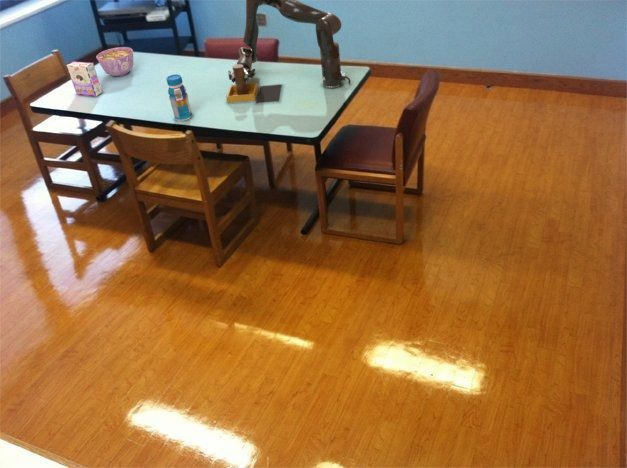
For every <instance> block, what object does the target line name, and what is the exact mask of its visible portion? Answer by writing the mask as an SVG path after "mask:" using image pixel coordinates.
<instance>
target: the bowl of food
mask: <svg viewBox="0 0 627 468" xmlns="http://www.w3.org/2000/svg"><path fill="white" fill-rule="evenodd" d="M95 56H96V60H97V61H98V63H99V65H100V67H101V69H102V70H103V71H104V73H106V74H107V75H109V76H114V77H122V76H125V75H127V74H128V73H129V72H130V71H131V70H132V69H133V67H134V50H133V49H132V48H131V47H128V46H120V47H113V48H112V47H111V48H108V49H105V50H103V51H101V52H99V53H98V54H96V55H95Z"/></svg>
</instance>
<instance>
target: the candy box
mask: <svg viewBox="0 0 627 468" xmlns="http://www.w3.org/2000/svg"><path fill="white" fill-rule="evenodd" d="M66 69H67V71H68V75H69V77H70V79H71V81H72V85H73V87H74V90H75V94H76V95H77V96H85V97H95V98H96V97H98V96H100V95H101V94H103V92H104V91H103V89H102V86H101V83H100V80H99V77H98V74H97V71H96V67H95V64H94V62H84V61H83V62H82V61H71V62H70V63H68V64H66Z"/></svg>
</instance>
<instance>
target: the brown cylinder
mask: <svg viewBox="0 0 627 468" xmlns="http://www.w3.org/2000/svg"><path fill="white" fill-rule="evenodd" d="M232 72H233V73H234V78H235V82H234V85H236V89H237V94H238V95H247V94H248V90H247V84H248V83H247V81H246V82H245V80H244V77H245V73H244V67H243V65H242V64H237V63H236V64H234V65H232Z"/></svg>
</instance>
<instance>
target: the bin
mask: <svg viewBox="0 0 627 468" xmlns="http://www.w3.org/2000/svg"><path fill="white" fill-rule="evenodd" d="M246 84H247V90H248V94H247V95H238V94H237V89H236V84H231V85H230V86H229V88H228V91H227V94H226V102H227V103H238V102H239V103H241V102H252V101H253V102H254V101H256V100H257V97H258V93H259V85H258V83H257V82H255V83H246Z"/></svg>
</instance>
